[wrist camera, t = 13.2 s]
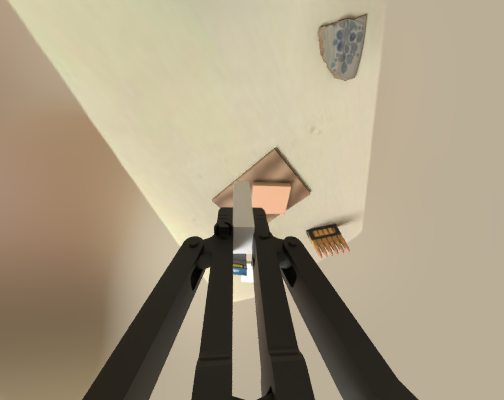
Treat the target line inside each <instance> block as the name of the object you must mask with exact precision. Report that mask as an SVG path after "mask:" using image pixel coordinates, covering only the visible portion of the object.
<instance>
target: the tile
mask: <svg viewBox="0 0 504 400" xmlns="http://www.w3.org/2000/svg"><path fill="white" fill-rule="evenodd" d="M290 190H291V185H290V183H271V182H253V183H252V194H251V202H252V207H257V208H263V209H264V210H265V213H266V214H285V212H286V208H287V203H288V199H289V194H290Z"/></svg>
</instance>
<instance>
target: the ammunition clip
mask: <svg viewBox="0 0 504 400" xmlns="http://www.w3.org/2000/svg"><path fill="white" fill-rule="evenodd" d="M307 235H308V237H309V239H310V241H311V243H312V244H313V246H314V248H315V250H316V252H317V253H318V255H319V256H320V257H321V258H322V254H321V251H320V249H319V247H320V248H321V250H322V252H323V253H324V255H325V256H326V257H327V252H326V250H325V247H326V249H327V250H328V252H329V253H330V254H331V255H332V256H333V253H332V250H331V248H330V246H331V247H332V249H333V250H334V252H335V253H336V254H338V250H337V248H336V246H335V244H336V245H337V247H338V248H339V250H340V251H341V252H342V253H344V250H343V248H342V246H341V244H342V245H343V246H344V248H345V249H346V250H347V251H348V252H349V251H350V250H349V247H348V246H347V244H346V242H345V240H344V238H343V237H342V235H341V233H340V231H339V229H338V228H337V226H336V224H333V225H328V226H323V227H319V228H314V229H309V230H307ZM317 243H318V244H317ZM340 243H341V244H340ZM318 245H319V246H318ZM324 246H325V247H324Z"/></svg>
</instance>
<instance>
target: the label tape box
mask: <svg viewBox="0 0 504 400" xmlns="http://www.w3.org/2000/svg"><path fill="white" fill-rule="evenodd" d="M233 270H234V271H239V272H234V271H233V274H234V275H242V276H247V261H246V254H233Z"/></svg>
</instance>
